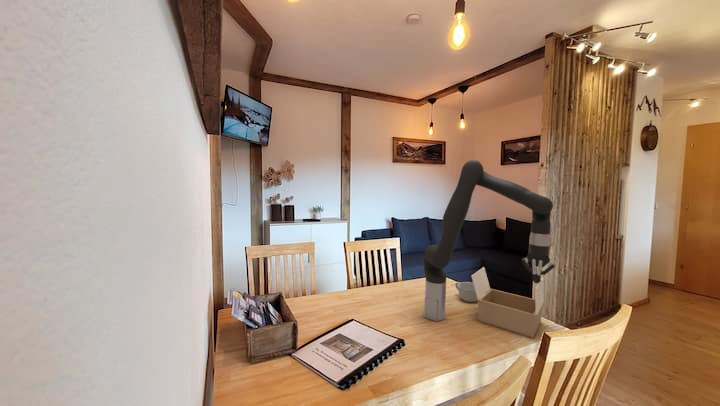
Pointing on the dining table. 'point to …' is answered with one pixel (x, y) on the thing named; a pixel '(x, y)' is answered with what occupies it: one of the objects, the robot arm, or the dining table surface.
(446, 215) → the robot arm
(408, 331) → the dining table surface
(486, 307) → the carton
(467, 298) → the teacup
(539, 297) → the flap
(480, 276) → the flap
